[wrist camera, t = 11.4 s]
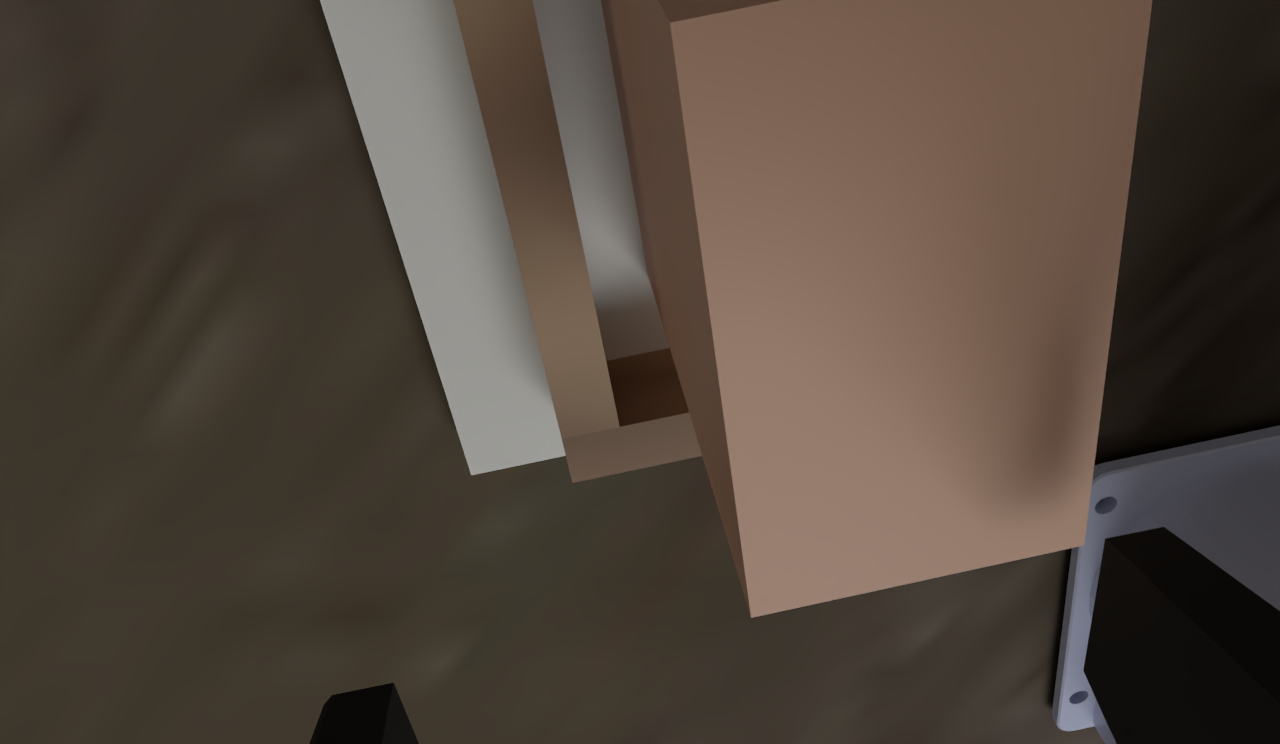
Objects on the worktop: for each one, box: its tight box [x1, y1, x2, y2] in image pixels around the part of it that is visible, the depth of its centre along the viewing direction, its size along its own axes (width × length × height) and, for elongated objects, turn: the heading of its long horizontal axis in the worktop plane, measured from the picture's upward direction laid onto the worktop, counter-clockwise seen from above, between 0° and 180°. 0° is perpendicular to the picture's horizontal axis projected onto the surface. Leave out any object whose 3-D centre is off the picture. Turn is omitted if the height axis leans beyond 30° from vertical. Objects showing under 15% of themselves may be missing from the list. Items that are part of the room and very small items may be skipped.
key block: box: [601, 0, 1152, 618], centre depth 14 cm, size 4×7×8 cm, turn 9°
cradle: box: [320, 0, 702, 483], centre depth 17 cm, size 14×12×3 cm
